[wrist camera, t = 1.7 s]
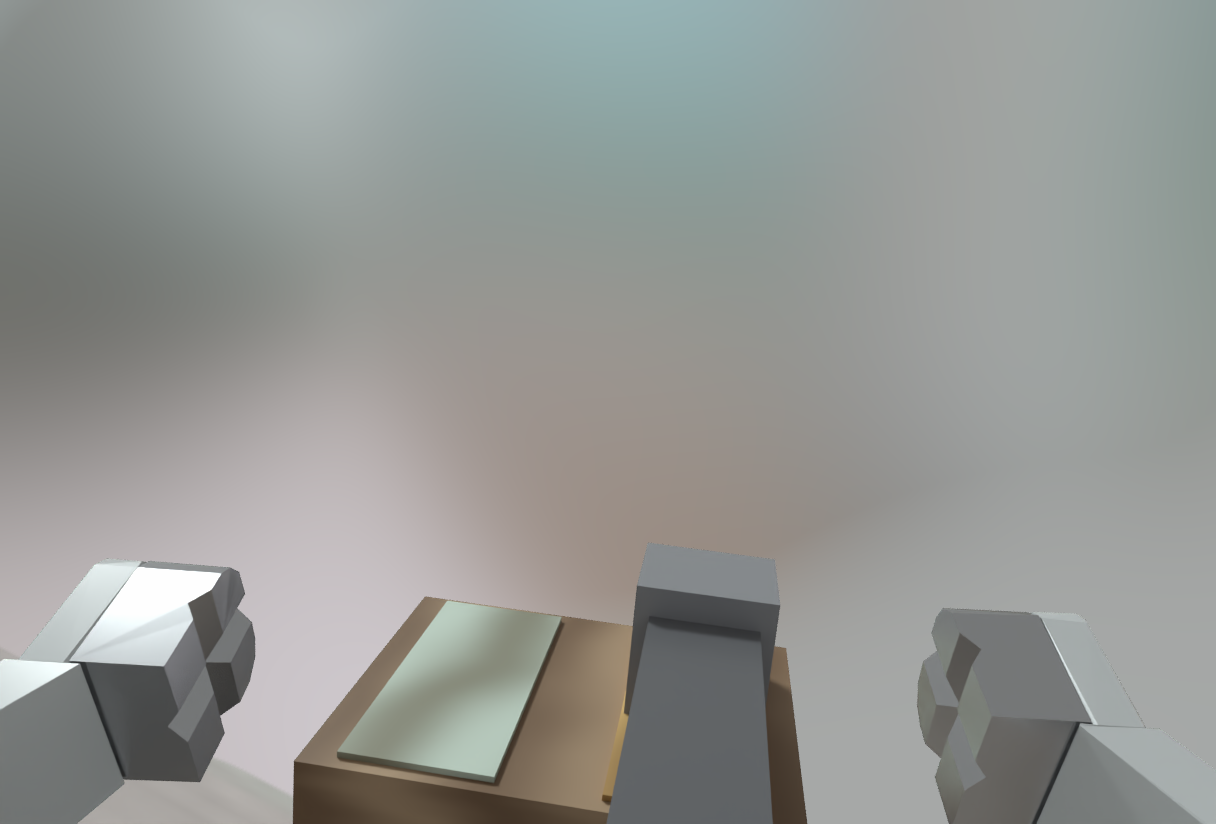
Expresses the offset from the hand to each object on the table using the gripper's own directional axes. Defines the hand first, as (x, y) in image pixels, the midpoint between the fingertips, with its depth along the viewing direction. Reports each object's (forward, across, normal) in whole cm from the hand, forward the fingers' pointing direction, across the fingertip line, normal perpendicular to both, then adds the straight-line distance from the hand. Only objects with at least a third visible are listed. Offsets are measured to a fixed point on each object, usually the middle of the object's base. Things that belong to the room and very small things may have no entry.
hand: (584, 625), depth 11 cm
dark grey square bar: (+9, -2, +16) cm, 18 cm away
